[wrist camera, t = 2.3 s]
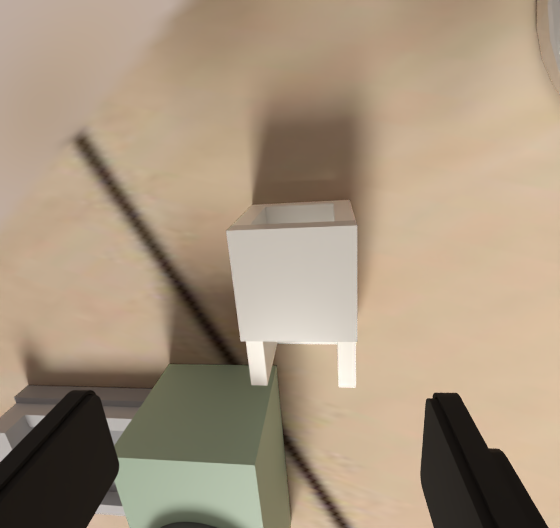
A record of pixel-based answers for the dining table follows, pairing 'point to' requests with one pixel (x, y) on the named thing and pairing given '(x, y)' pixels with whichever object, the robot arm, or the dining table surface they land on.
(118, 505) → the toy coffee machine
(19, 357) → the dining table surface
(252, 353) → the white box on legs
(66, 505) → the robot arm
